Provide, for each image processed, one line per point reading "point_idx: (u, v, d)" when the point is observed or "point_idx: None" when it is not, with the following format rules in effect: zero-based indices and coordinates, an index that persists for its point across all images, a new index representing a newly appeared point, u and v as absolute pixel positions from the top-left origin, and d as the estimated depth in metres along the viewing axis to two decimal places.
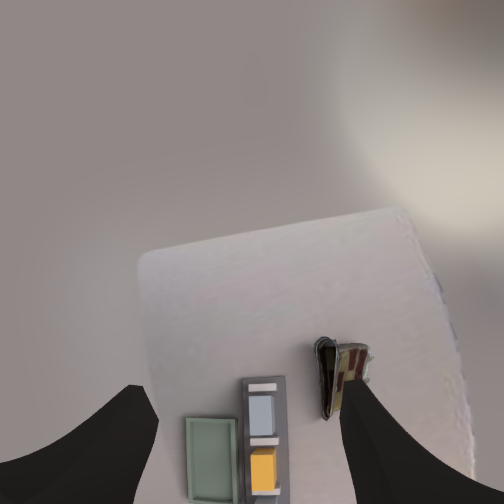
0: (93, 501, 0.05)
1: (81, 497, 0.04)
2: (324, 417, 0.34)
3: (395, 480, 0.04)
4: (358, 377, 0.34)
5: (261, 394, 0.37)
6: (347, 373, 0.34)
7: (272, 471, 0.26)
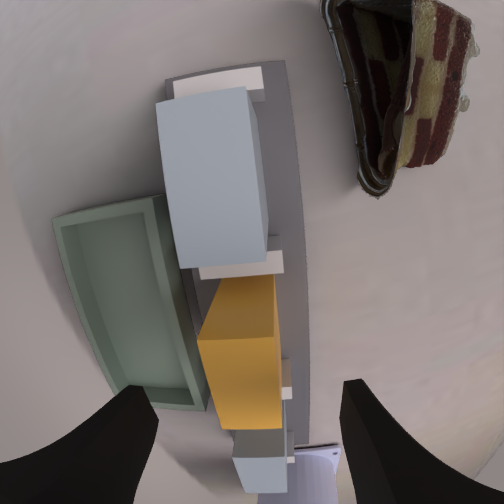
0: (93, 501, 0.05)
1: (80, 498, 0.04)
2: (366, 186, 0.14)
3: (395, 480, 0.04)
4: (452, 88, 0.10)
5: None
6: (430, 66, 0.09)
7: (275, 385, 0.10)
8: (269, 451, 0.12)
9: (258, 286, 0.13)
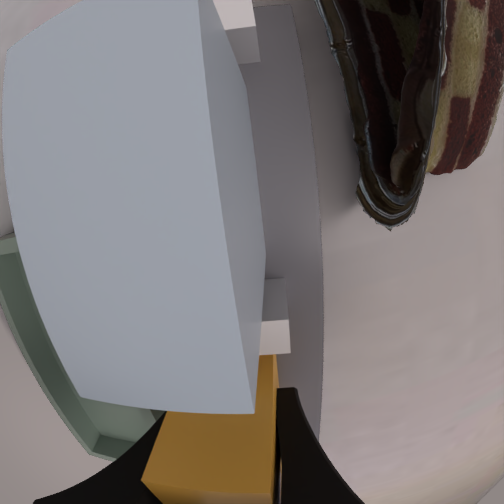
0: None
1: None
2: (371, 207, 0.09)
3: (290, 498, 0.04)
4: (496, 53, 0.04)
5: None
6: (466, 14, 0.04)
7: None
8: None
9: None
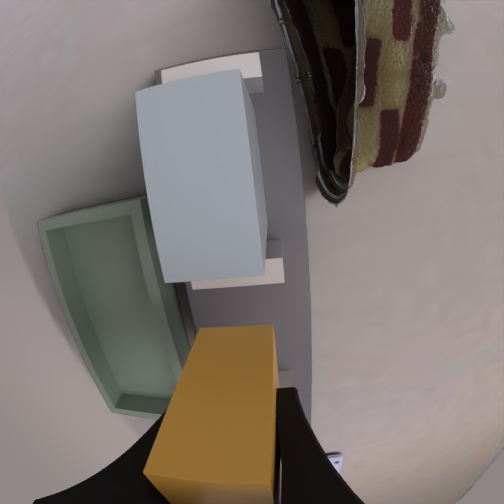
0: None
1: None
2: (326, 192, 0.13)
3: (290, 498, 0.04)
4: (421, 71, 0.09)
5: None
6: (390, 47, 0.08)
7: None
8: None
9: (249, 359, 0.08)
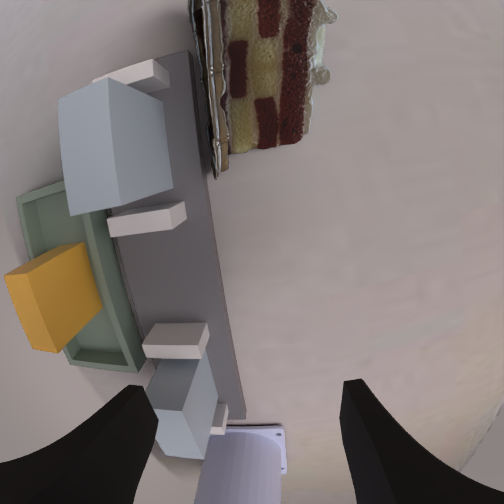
0: (93, 501, 0.05)
1: (81, 497, 0.04)
2: (215, 170, 0.15)
3: (395, 480, 0.04)
4: (295, 61, 0.11)
5: None
6: (257, 45, 0.11)
7: (38, 311, 0.12)
8: (170, 405, 0.13)
9: (61, 250, 0.16)
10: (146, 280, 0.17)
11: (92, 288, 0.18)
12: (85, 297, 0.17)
